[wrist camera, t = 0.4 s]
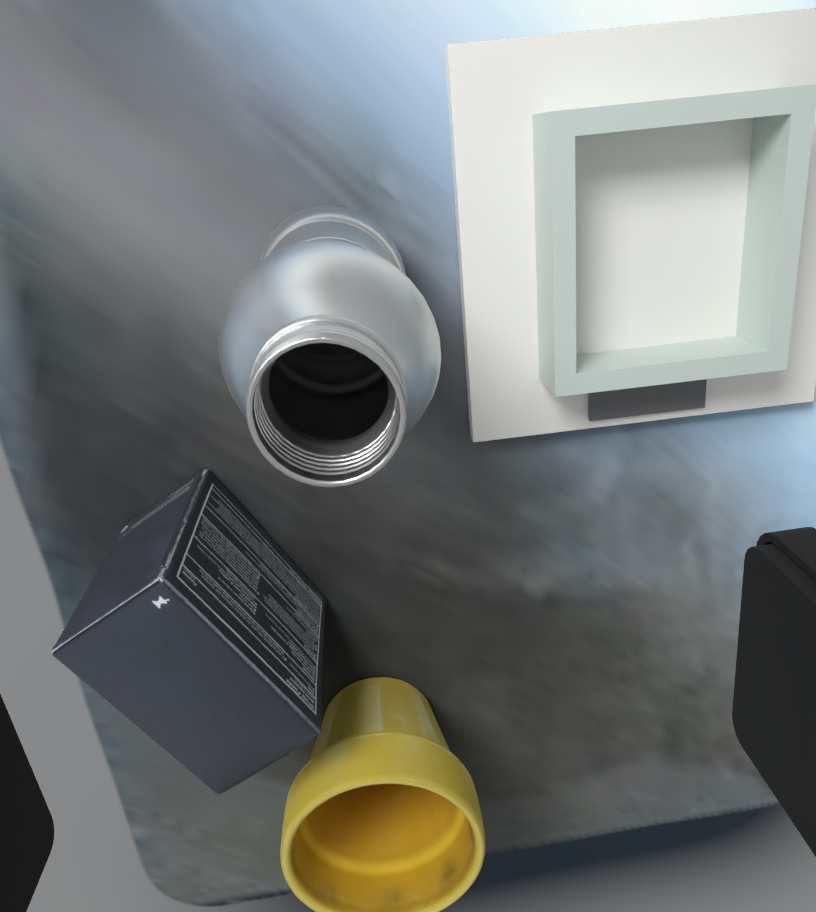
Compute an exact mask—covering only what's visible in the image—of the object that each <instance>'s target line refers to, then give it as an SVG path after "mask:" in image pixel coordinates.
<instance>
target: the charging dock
mask: <svg viewBox="0 0 816 912" xmlns="http://www.w3.org/2000/svg"><path fill="white" fill-rule="evenodd" d="M444 49H445V64H446V79H447V94H448V109H449V124H450V139H451V154H452V169H453V184H454V199H455V214H456V229H457V244H458V259H459V274H460V289H461V304H462V319H463V334H464V349H465V364H466V379H467V394H468V409H469V424H470V436H471V438H472V440H473V442H481V441H489V440H497V439H505V438H514V437H522V436H530V435H538V434H547V433H555V432H563V431H572V430H580V429H588V428H596V427H605V426H613V425H621V424H629V423H638V422H646V421H654V420H662V419H671V418H679V417H687V416H696V415H704V414H712V413H720V412H729V411H737V410H745V409H753V408H762V407H770V406H778V405H786V404H795V403H803V402H811V401H814V394H815V386H816V8H812V9H802V10H792V11H782V12H772V13H761V14H751V15H741V16H731V17H721V18H710V19H700V20H690V21H680V22H670V23H660V24H649V25H639V26H629V27H619V28H609V29H598V30H588V31H578V32H568V33H558V34H548V35H537V36H527V37H517V38H507V39H497V40H486V41H476V42H466V43H456V44H447V45H446V46H445V47H444Z"/></svg>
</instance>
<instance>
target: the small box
mask: <svg viewBox="0 0 816 912" xmlns="http://www.w3.org/2000/svg"><path fill="white" fill-rule="evenodd" d="M326 601H327V600H326V598H325V597H324V596H323V595H322V594H321V593H320V591H319V590H318V589H317V588H316V587H315V586H314V585H313V583H312V582H311V581H310V580H309V579H308V578H307V577H306V576H305V575H304V574H303V572H302V571H301V570H300V569H299V568H298V567H297V566H296V565H295V564H294V563H293V561H292V560H291V559H290V558H289V557H288V556H287V555H286V554H285V553H284V552H283V550H282V549H281V548H280V547H279V546H278V545H277V544H276V543H275V542H274V541H273V540H272V538H271V537H270V536H269V535H268V534H267V533H266V532H265V531H264V530H263V529H262V527H261V526H260V525H259V524H258V523H257V522H256V521H255V520H254V519H253V518H252V517H251V515H250V514H249V513H248V512H247V511H246V510H245V509H244V508H243V507H242V505H241V504H240V503H239V502H238V501H237V500H236V499H235V498H234V497H233V496H232V494H231V493H230V492H229V491H228V490H227V489H226V488H225V487H224V486H223V485H222V484H221V483H220V482H219V481H218V480H217V479H216V478H215V476H214V475H213V474H212V473H211V472H210V470H199V472H198V473H195V474H194V475H193V476H192V477H191V478H190V479H189V480H188V481H187V482H185V483H182V484H181V486H180V487H178V488H177V489H175V490H174V491H173V492H172V493H170V494H168V495H167V496H166V497H164V498H163V499H162V500H160V501H158V502H156V503H155V504H154V505H153V506H152V507H150V508H148V509H147V510H144V511H142V512H141V513H140V514H138V515H137V516H136V517H134V518H133V519H132V520H131V521H130V522H129V523H128V524H127V525H125V526H124V527H122V528H121V530H120V532H119V534H118V536H117V537H116V539H115V541H114V543H113V544H112V546H111V548H110V550H109V552H108V554H107V555H106V557H105V559H104V560H103V562H102V564H101V566H100V567H99V569H98V571H97V573H96V575H95V577H94V579H93V580H92V582H91V583H90V585H89V587H88V589H87V591H86V592H85V594H84V595H83V597H82V599H81V601H80V602H79V605H78V606H77V608H76V610H75V611H74V613H73V615H72V616H71V618H70V620H69V622H68V624H67V626H66V627H65V629H64V631H63V633H62V634H61V636H60V638H59V640H58V641H57V643H56V645H55V646H54V647H53V649H52V652H51V653H52V655H53V656H54V657H55V658H57V659H58V660H59V661H60V662H61V663H62V664H64V665H65V666H66V667H67V668H69V669H70V670H71V671H72V672H73V673H74V674H76V675H77V676H78V677H79V678H80V679H81V680H82V681H84V682H85V683H86V684H87V685H89V686H90V687H91V688H92V689H93V690H95V691H96V692H97V693H98V694H99V695H100V696H102V697H103V698H104V699H105V700H106V701H108V702H109V703H110V704H111V705H112V706H114V707H115V708H116V709H117V710H118V711H119V712H121V713H122V714H123V715H124V716H125V717H126V718H128V719H129V720H130V721H131V722H132V723H133V724H135V725H136V726H137V727H138V728H139V729H141V730H142V731H143V732H144V733H145V734H146V735H148V736H149V737H150V738H151V739H152V740H153V741H155V742H156V743H157V744H158V745H159V746H160V747H162V748H163V749H164V750H165V751H166V752H168V753H169V754H170V755H171V756H172V757H173V758H175V759H176V760H177V761H178V762H179V763H180V764H182V765H183V766H184V767H185V768H186V769H187V770H189V771H190V772H191V773H192V774H193V775H194V776H195V777H197V778H198V779H199V780H200V781H201V782H202V783H204V784H205V785H206V786H207V787H208V788H209V789H211V790H212V791H213V792H214V793H215V794H217V795H218V794H221V793H223V792H225V791H227V790H229V789H231V788H232V787H234V786H236V785H237V784H239V783H241V782H242V781H244V780H246V779H248V778H249V777H251V776H252V775H254V774H256V773H257V772H259V771H261V770H262V769H264V768H266V767H267V766H269V765H271V764H272V763H274V762H275V761H277V760H279V759H280V758H282V757H284V756H285V755H287V754H289V753H290V752H292V751H294V750H295V749H297V748H298V747H300V746H302V745H303V744H305V743H306V742H308V741H310V740H311V739H313V738H315V737H316V736H318V735H320V733H321V727H322V726H321V702H320V701H321V681H322V680H321V677H322V661H323V641H324V639H323V636H324V619H325V606H326Z"/></svg>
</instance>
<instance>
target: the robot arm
mask: <svg viewBox="0 0 816 912" xmlns="http://www.w3.org/2000/svg"><path fill="white" fill-rule="evenodd" d="M732 718H733V725H734V729H735V732H736V735H737V738H738V740H739V742H740V744H741V746H742V747H743V749H744V750H745V752H746V753H747V755H748V756H749V758H750V759H751V761H752V762H753V764H754V765H755V767H756V768H757V770H758V771H759V773H760V774H761V776H762V777H763V779H764V780H765V782H766V783H767V785H768V786H769V788H770V789H771V791H772V792H773V794H774V795H775V797H776V798H777V800H778V801H779V802H780V804H781V805H782V807H783V808H784V810H785V811H786V813H787V814H788V816H789V817H790V819H791V820H792V822H793V823H794V825H795V826H796V828H797V829H798V831H799V832H800V834H801V835H802V837H803V838H804V840H805V841H806V843H807V844H808V846H809V847H810V849H811V850H812V852H813V853H814V855H815V856H816V529H815V528H813V527H805V528H798V529H791V530H784V531H777V532H770V533H765V534H763V535H761V536H760V538H759V540H758V541H757V546H755V547H751V548H749V549H748V550H747V552H746V555H745V561H744V573H743V586H742V598H741V611H740V623H739V636H738V649H737V661H736V674H735V686H734V699H733V711H732ZM53 839H54V825H53V820H52V816H51V814H50V811H49V809H48V807H47V804H46V802H45V799H44V797H43V795H42V792H41V790H40V788H39V785H38V783H37V780H36V778H35V776H34V773H33V771H32V768H31V766H30V764H29V761H28V759H27V757H26V755H25V752H24V750H23V747H22V745H21V742H20V740H19V737H18V735H17V733H16V730H15V728H14V726H13V723H12V721H11V718H10V716H9V714H8V711H7V709H6V707H5V704H4V702H3V700H2V697H1V695H0V912H26V911H27V908H28V906H29V904H30V901H31V899H32V896H33V894H34V891H35V889H36V886H37V884H38V881H39V879H40V877H41V874H42V872H43V869H44V867H45V864H46V862H47V860H48V857H49V855H50V852H51V849H52V845H53Z"/></svg>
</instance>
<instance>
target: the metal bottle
mask: <svg viewBox="0 0 816 912" xmlns="http://www.w3.org/2000/svg"><path fill="white" fill-rule="evenodd" d="M219 358H220V363H221V368H222V373H223V377H224V379H225V381H226V384H227V386H228V389H229V391H230V393H231V396H232V397H233V399H234V401H235V402H236V404H237V405H238V407H239V408H240V410H241V411H242V413H243V414H244V416H245V418H246V419H247V422H248V427H249V430H250V433H251V435H252V438H253V440H254V442H255V444H256V446H257V447H258V449H259V450H260V452H261V453H262V455H263V456H264V457H265V458H266V459H267V460H268V461H269V462H270V463H271V464H272V465H273V466H274V467H275V468H277V469H278V470H279V471H281V472H282V473H284V474H285V475H287V476H289V477H291V478H293V479H295V480H297V481H299V482H302V483H306V484H310V485H313V486H321V487H339V486H347V485H350V484H354V483H358V482H360V481H363V480H365V479H367V478H369V477H371V476H373V475H374V474H375V473H377V472H378V471H379V470H381V469H382V468H383V467H384V466H385V465H386V464H387V463H388V462H389V461H390V459H391V458H392V457H393V456H394V454H395V452H396V451H397V449H398V447H399V445H400V443H401V441H402V438H404V437H405V436H406V435H407V434H408V433H409V432H410V431H411V429H412V428H413V427H414V426H415V425H416V424H417V423H418V422H419V420H420V419H421V417H422V416H423V414H424V412H425V410H426V409H427V407H428V405H429V403H430V402H431V400H432V398H433V395H434V392H435V389H436V386H437V383H438V380H439V374H440V366H441V348H440V337H439V333H438V330H437V326H436V323H435V319H434V316H433V314H432V312H431V310H430V308H429V306H428V304H427V302H426V300H425V298H424V297H423V295H422V294H421V293H420V292H419V290H418V289H417V288H416V286H415V285H414V284H413V283H412V281H411V280H410V279H409V278H408V277H407V276H406V272H405V268H404V264H403V261H402V258H401V255H400V253H399V251H398V249H397V247H396V245H395V243H394V242H393V241H392V239H391V238H390V237H389V235H388V234H387V233H386V232H385V230H384V229H382V228H381V227H380V226H379V225H378V224H377V223H376V222H375V221H373V220H372V219H370V218H369V217H367V216H365V215H363V214H362V213H360V212H358V211H355V210H352V209H349V208H346V207H341V206H334V205H319V206H312V207H308V208H305V209H301V210H299V211H297V212H295V213H293V214H291V215H289V216H288V217H286V218H285V219H284V220H283V221H281V222H280V223H279V224H278V225H277V226H276V227H275V228H274V229H273V231H272V232H271V233H270V235H269V236H268V237H267V239H266V241H265V243H264V245H263V247H262V250H261V252H260V256H259V261H258V264H257V265H256V266H254V267H253V268H252V269H251V270H250V271H249V272H247V273H246V274H245V275H244V277H243V278H242V279H241V281H240V282H239V283H238V285H237V286H236V287H235V289H234V290H233V291H232V293H231V295H230V298H229V300H228V302H227V304H226V306H225V309H224V311H223V315H222V319H221V324H220V329H219Z"/></svg>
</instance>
